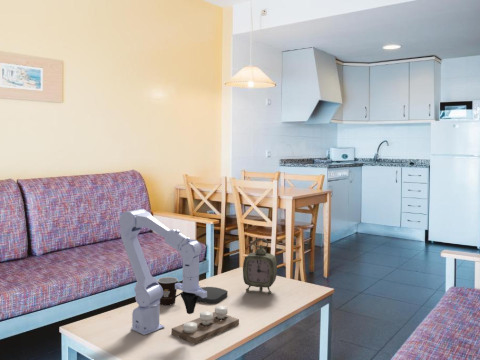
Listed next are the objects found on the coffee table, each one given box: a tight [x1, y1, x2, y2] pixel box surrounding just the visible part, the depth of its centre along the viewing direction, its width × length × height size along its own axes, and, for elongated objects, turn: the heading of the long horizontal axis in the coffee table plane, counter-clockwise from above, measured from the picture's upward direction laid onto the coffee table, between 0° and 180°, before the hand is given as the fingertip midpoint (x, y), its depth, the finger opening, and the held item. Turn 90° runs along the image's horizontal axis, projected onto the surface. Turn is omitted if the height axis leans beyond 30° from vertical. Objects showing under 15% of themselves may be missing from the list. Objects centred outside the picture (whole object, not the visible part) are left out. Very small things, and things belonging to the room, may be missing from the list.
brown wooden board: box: [171, 311, 240, 345], centre depth 164 cm, size 23×12×2 cm, turn 139°
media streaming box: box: [197, 286, 228, 305], centre depth 199 cm, size 15×15×3 cm
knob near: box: [183, 321, 197, 333], centre depth 158 cm, size 5×5×4 cm
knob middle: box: [199, 310, 213, 325], centre depth 164 cm, size 5×5×4 cm
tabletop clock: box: [242, 238, 278, 295], centre depth 207 cm, size 14×9×25 cm, turn 73°
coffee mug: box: [157, 276, 184, 306], centre depth 190 cm, size 12×9×10 cm
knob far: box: [214, 305, 228, 319], centre depth 170 cm, size 5×5×4 cm
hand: (190, 313), depth 158 cm, fingers closed
